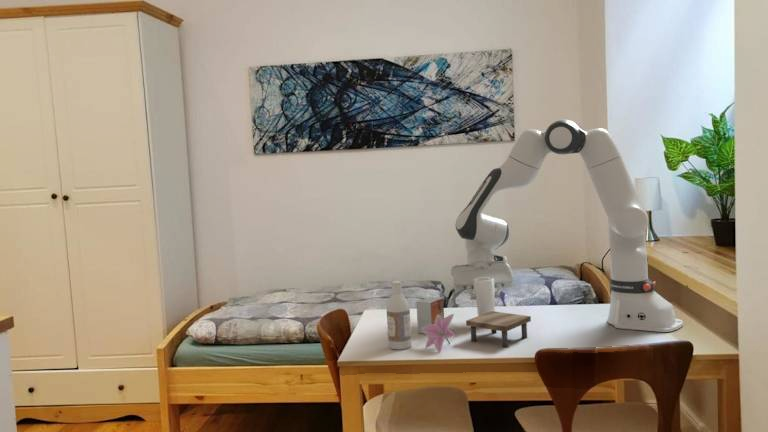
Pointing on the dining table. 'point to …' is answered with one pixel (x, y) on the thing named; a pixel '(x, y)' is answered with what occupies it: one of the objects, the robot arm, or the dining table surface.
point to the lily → (438, 332)
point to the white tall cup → (484, 295)
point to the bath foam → (398, 319)
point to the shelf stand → (498, 324)
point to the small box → (429, 311)
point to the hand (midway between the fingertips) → (485, 298)
